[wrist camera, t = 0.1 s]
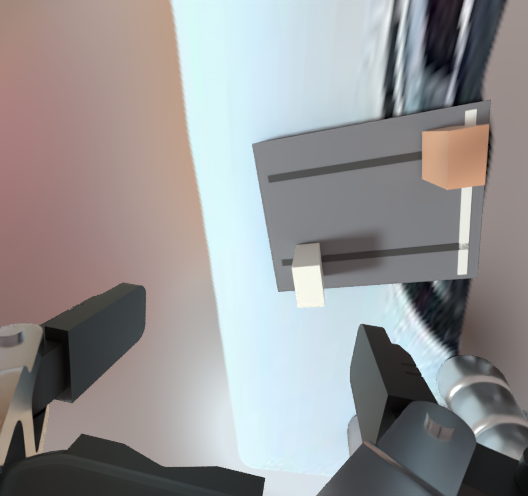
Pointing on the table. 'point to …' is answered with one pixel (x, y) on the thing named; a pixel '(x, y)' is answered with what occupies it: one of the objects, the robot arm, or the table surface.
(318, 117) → the table surface
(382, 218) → the fader panel
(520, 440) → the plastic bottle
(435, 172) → the block
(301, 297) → the cream fader
